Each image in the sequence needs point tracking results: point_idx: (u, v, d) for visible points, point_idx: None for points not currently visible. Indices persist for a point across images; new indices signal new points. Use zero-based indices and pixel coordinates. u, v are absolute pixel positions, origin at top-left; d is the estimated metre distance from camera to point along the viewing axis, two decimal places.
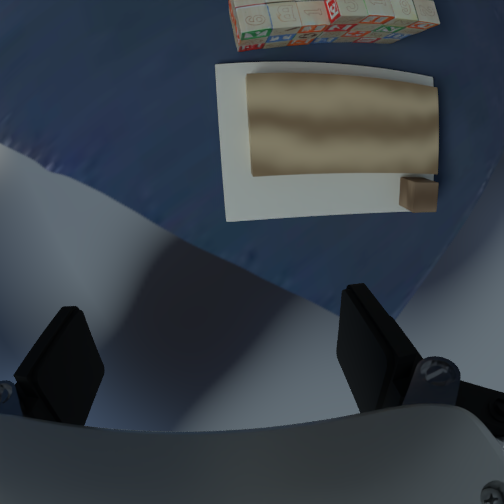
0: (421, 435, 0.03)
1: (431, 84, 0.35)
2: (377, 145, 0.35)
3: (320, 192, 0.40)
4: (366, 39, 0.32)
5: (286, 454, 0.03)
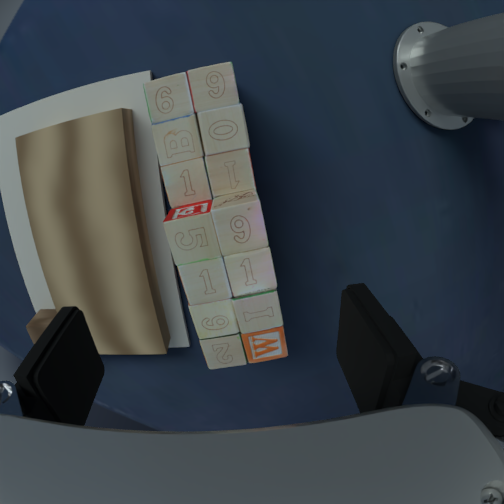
0: (421, 435, 0.03)
1: (179, 344, 0.36)
2: (71, 280, 0.29)
3: (24, 217, 0.29)
4: None
5: (286, 454, 0.03)
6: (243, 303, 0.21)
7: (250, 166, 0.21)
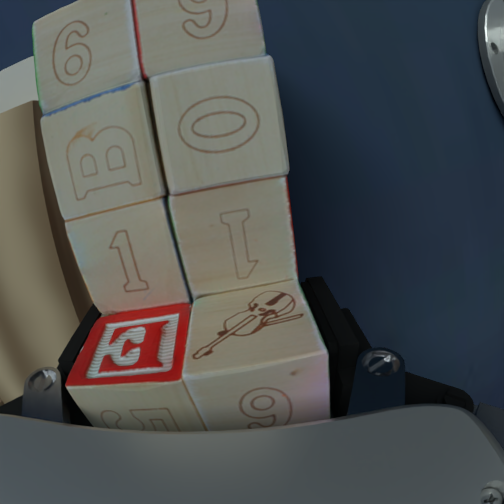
0: (421, 435, 0.03)
1: None
2: (4, 364, 0.16)
3: None
4: None
5: (286, 454, 0.03)
6: None
7: (288, 224, 0.08)
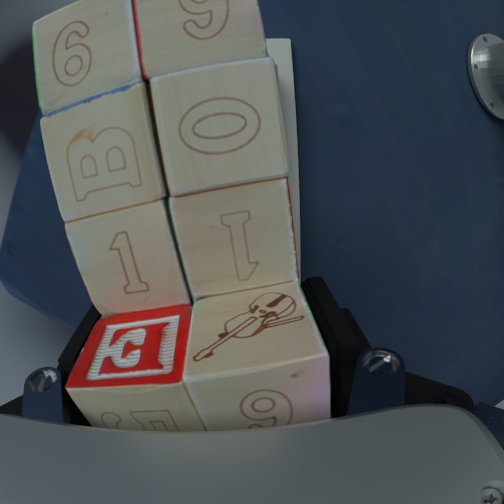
0: (421, 435, 0.03)
1: None
2: None
3: None
4: None
5: (286, 454, 0.03)
6: None
7: (289, 226, 0.08)
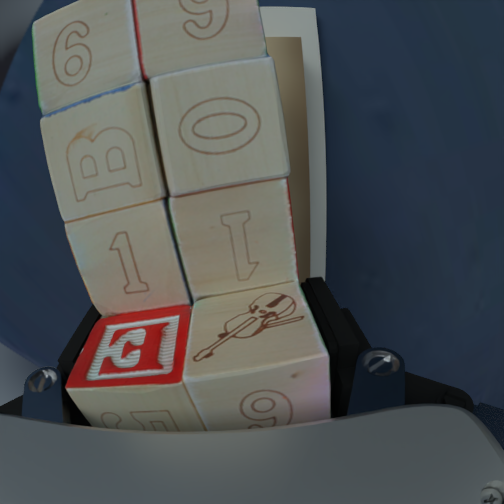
0: (421, 435, 0.03)
1: None
2: None
3: None
4: None
5: (286, 454, 0.03)
6: None
7: (289, 226, 0.08)
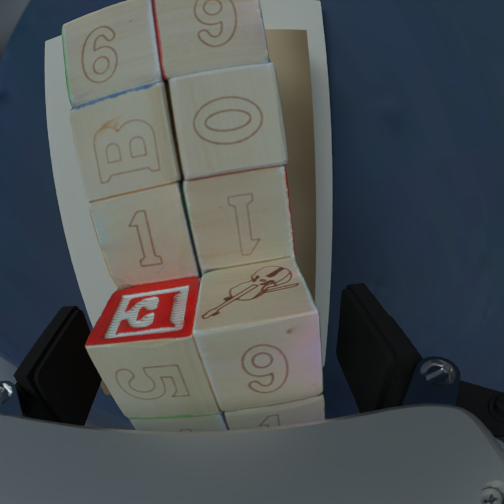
0: (421, 435, 0.03)
1: None
2: None
3: None
4: None
5: (286, 455, 0.03)
6: None
7: (286, 208, 0.09)
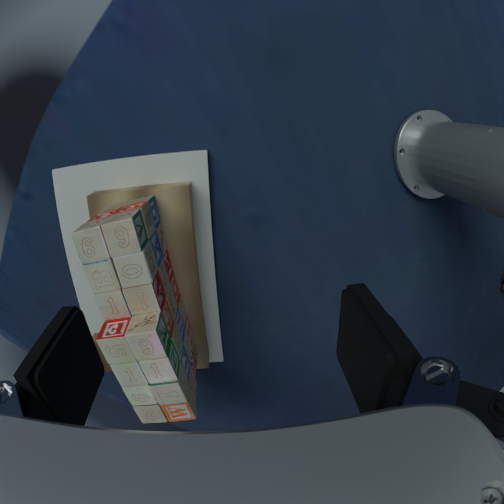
0: (421, 435, 0.03)
1: (215, 360, 0.46)
2: None
3: None
4: None
5: (286, 454, 0.03)
6: (156, 388, 0.27)
7: (154, 296, 0.27)
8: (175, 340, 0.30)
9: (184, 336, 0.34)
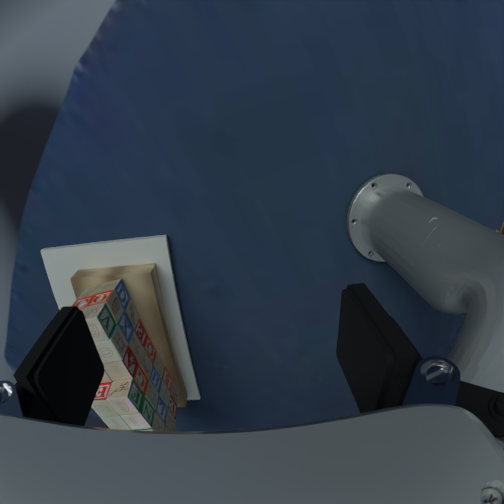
0: (421, 435, 0.03)
1: (193, 398, 0.51)
2: None
3: None
4: None
5: (286, 454, 0.03)
6: None
7: (125, 368, 0.33)
8: (149, 396, 0.35)
9: (160, 387, 0.40)
